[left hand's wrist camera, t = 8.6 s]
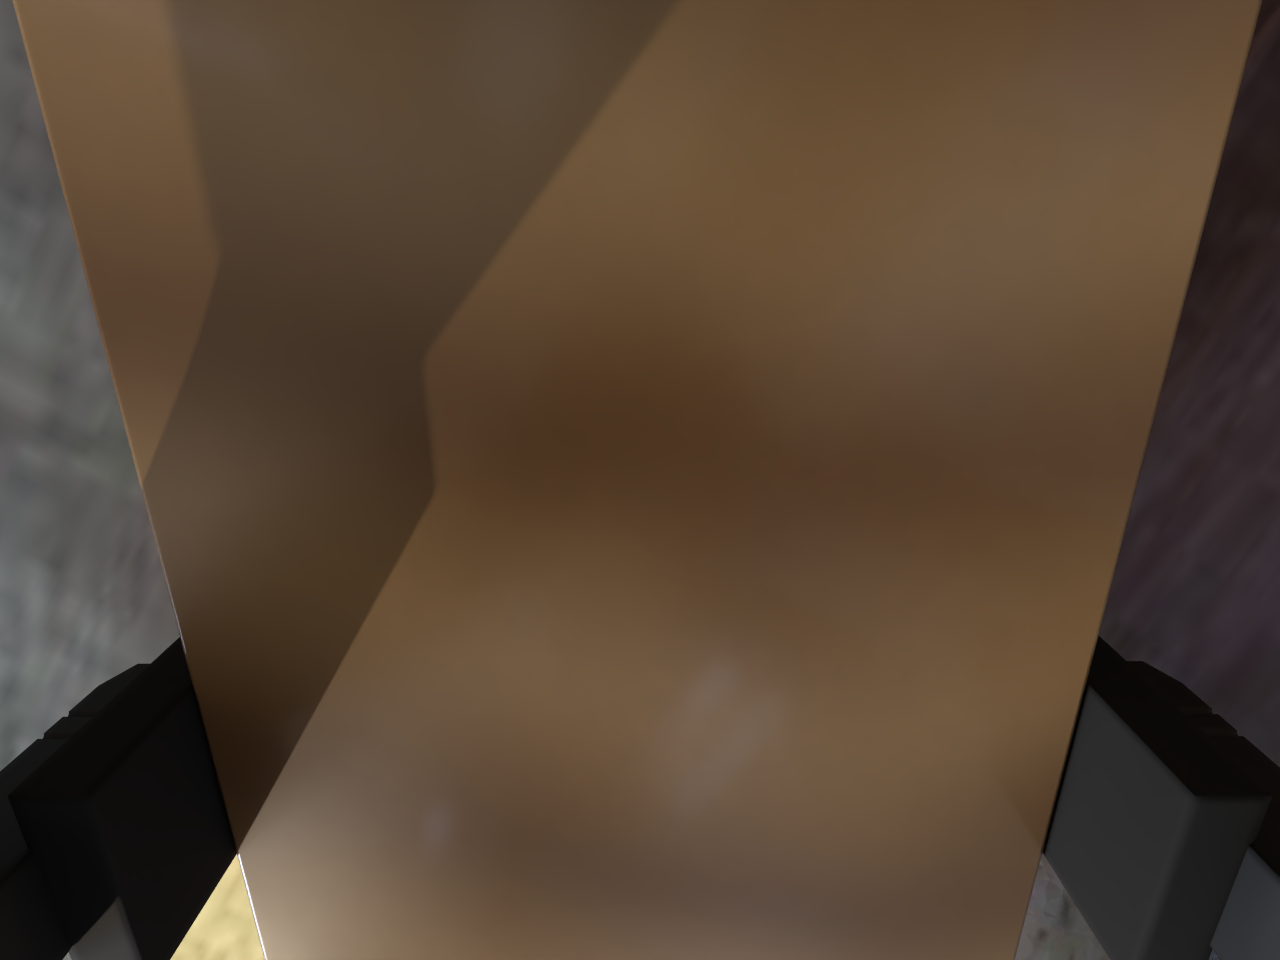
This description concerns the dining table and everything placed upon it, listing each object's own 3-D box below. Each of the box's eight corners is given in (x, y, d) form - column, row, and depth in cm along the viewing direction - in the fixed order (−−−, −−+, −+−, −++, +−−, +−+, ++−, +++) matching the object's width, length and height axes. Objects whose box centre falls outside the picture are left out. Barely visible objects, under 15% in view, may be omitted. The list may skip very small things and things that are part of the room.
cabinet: (382, -134, 15) (-256, -993, 4) (894, -134, 15) (1526, -996, 4) (456, 586, 21) (267, 977, 10) (822, 586, 21) (1013, 975, 10)
